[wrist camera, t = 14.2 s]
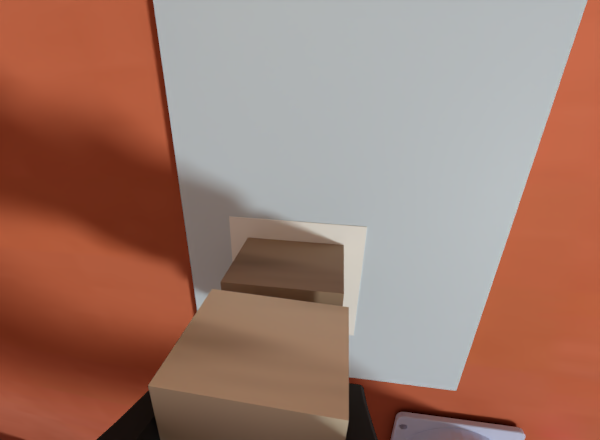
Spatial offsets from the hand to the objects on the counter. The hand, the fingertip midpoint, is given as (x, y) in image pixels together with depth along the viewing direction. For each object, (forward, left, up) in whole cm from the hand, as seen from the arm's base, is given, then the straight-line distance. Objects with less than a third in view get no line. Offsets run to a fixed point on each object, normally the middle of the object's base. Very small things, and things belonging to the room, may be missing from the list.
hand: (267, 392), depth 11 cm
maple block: (0, 0, -2) cm, 2 cm away
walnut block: (0, 0, -7) cm, 7 cm away
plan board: (+3, -2, -8) cm, 8 cm away
